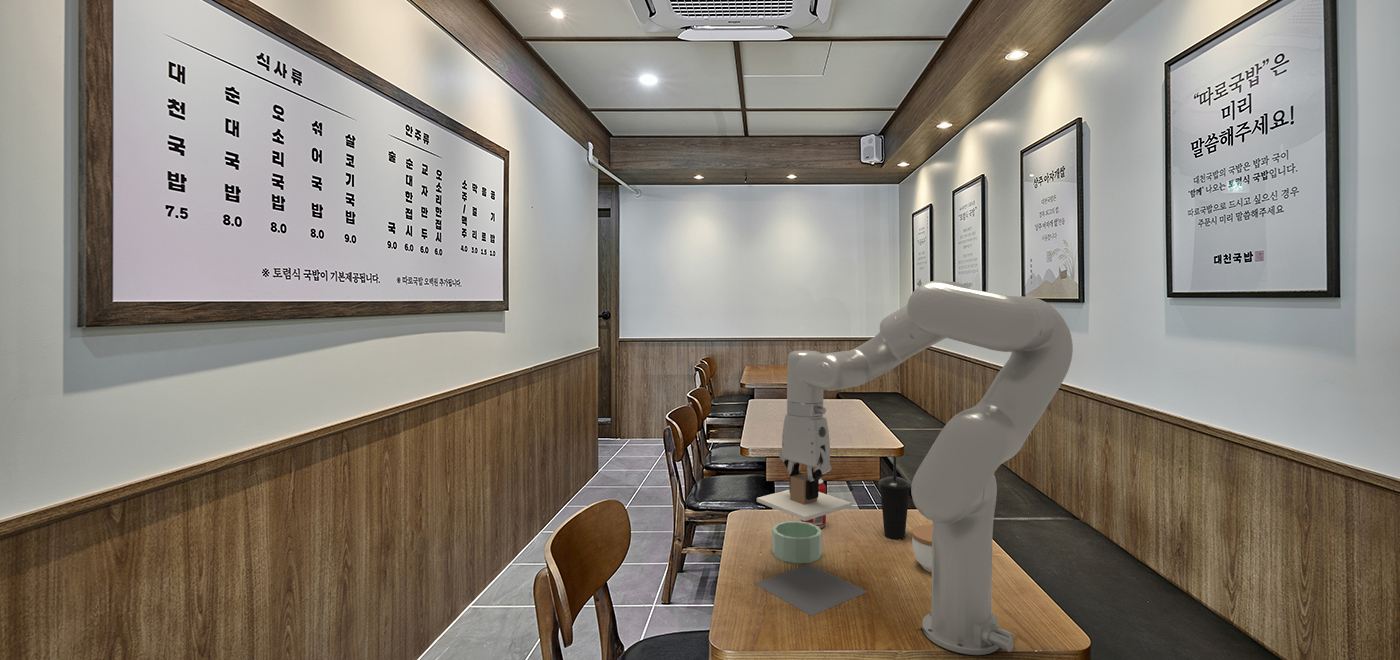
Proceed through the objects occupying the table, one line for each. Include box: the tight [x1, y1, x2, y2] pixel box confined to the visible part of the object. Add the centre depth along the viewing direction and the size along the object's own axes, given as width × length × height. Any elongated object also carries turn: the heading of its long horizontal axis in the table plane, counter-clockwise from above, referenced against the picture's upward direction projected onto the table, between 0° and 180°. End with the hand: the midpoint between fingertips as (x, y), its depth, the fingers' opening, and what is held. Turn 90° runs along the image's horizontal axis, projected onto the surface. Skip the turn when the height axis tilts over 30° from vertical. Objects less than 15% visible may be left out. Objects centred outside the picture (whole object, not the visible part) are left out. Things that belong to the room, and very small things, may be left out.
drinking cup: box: [878, 456, 912, 541], centre depth 147 cm, size 8×8×20 cm
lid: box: [756, 472, 853, 521], centre depth 125 cm, size 14×14×6 cm
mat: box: [754, 563, 869, 617], centre depth 119 cm, size 16×16×1 cm
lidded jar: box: [911, 524, 933, 574], centre depth 129 cm, size 11×11×9 cm
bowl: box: [771, 520, 823, 564], centre depth 136 cm, size 11×11×6 cm
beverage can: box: [801, 478, 827, 529], centre depth 155 cm, size 6×6×12 cm
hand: (803, 494), depth 125 cm, fingers closed on lid, 4 cm apart
